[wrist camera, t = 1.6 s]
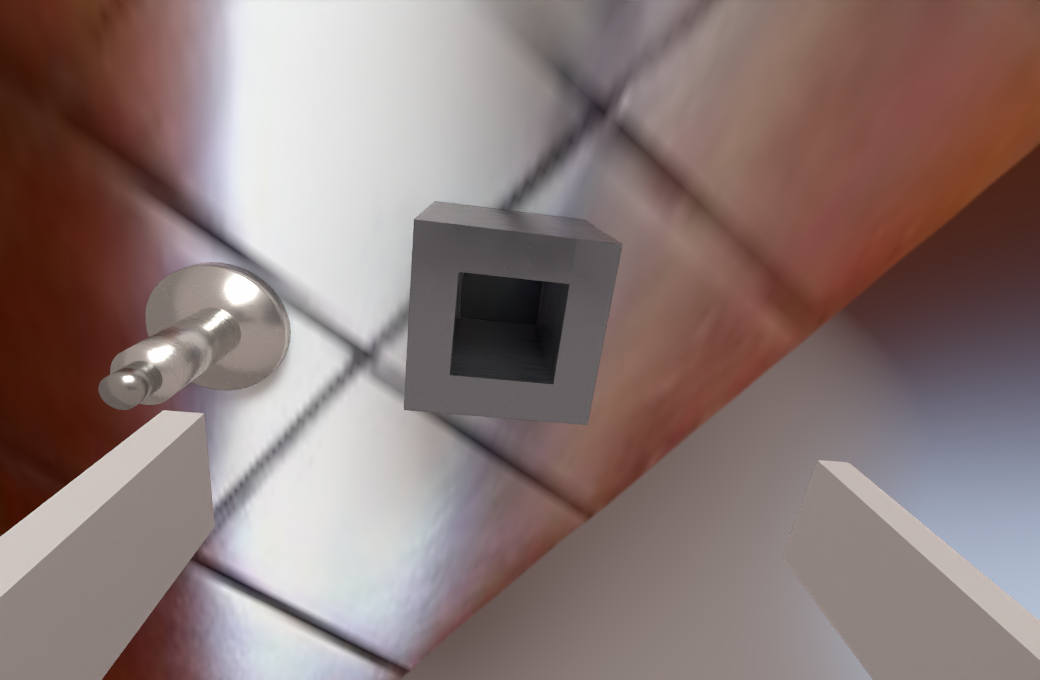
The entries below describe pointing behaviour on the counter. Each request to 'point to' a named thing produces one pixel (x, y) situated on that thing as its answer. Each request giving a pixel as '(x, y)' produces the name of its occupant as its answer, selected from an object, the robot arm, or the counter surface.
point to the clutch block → (501, 345)
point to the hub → (201, 337)
